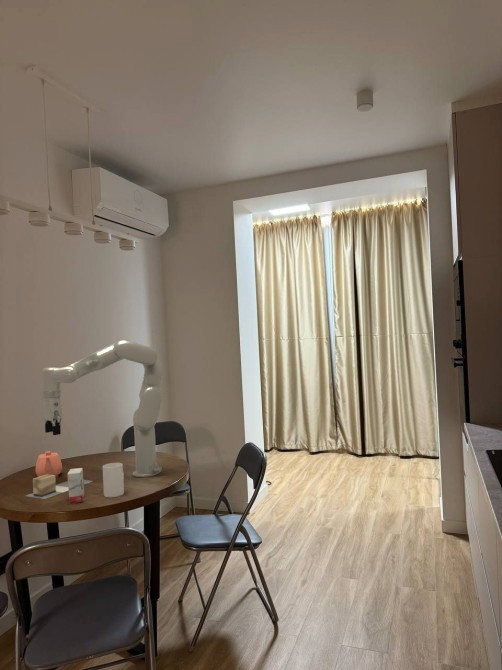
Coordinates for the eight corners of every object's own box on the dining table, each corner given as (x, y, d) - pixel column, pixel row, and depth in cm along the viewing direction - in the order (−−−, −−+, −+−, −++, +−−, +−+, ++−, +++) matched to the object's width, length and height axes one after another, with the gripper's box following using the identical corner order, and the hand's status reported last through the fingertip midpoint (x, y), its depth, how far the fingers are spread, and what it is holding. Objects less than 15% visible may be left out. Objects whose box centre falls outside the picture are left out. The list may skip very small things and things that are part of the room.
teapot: (36, 473, 236) (35, 449, 236) (62, 470, 240) (61, 446, 240) (34, 484, 217) (33, 457, 217) (62, 480, 222) (61, 454, 222)
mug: (119, 487, 205) (118, 459, 205) (126, 494, 194) (125, 465, 194) (100, 491, 201) (98, 462, 201) (106, 498, 190) (104, 468, 190)
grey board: (93, 483, 214) (93, 480, 214) (44, 501, 191) (44, 499, 191) (74, 480, 219) (74, 478, 219) (24, 498, 196) (24, 495, 196)
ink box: (82, 502, 187) (80, 472, 187) (68, 504, 186) (67, 474, 186) (84, 496, 195) (83, 467, 196) (71, 497, 194) (70, 468, 194)
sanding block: (55, 491, 200) (55, 475, 200) (41, 497, 194) (41, 479, 194) (47, 490, 202) (47, 474, 202) (33, 495, 196) (32, 478, 196)
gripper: (67, 395, 208) (68, 434, 208) (53, 393, 221) (54, 430, 221) (49, 396, 203) (50, 437, 203) (36, 394, 216) (37, 432, 216)
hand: (52, 433), depth 212 cm, fingers open, 9 cm apart
